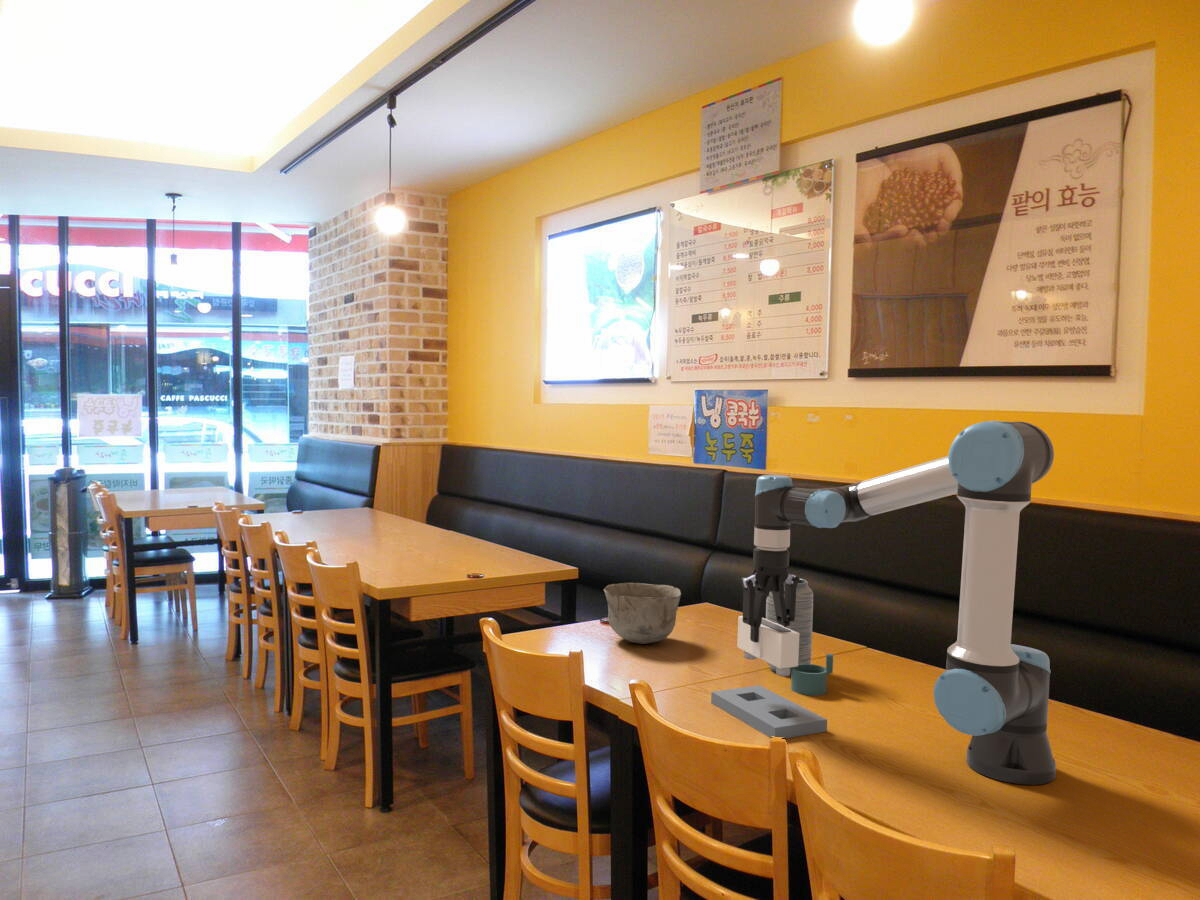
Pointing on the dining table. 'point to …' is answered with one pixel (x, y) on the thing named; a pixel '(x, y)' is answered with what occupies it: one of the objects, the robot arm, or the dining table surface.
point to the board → (769, 712)
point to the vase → (797, 620)
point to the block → (772, 645)
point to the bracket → (811, 677)
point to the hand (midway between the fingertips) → (767, 655)
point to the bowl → (642, 610)
